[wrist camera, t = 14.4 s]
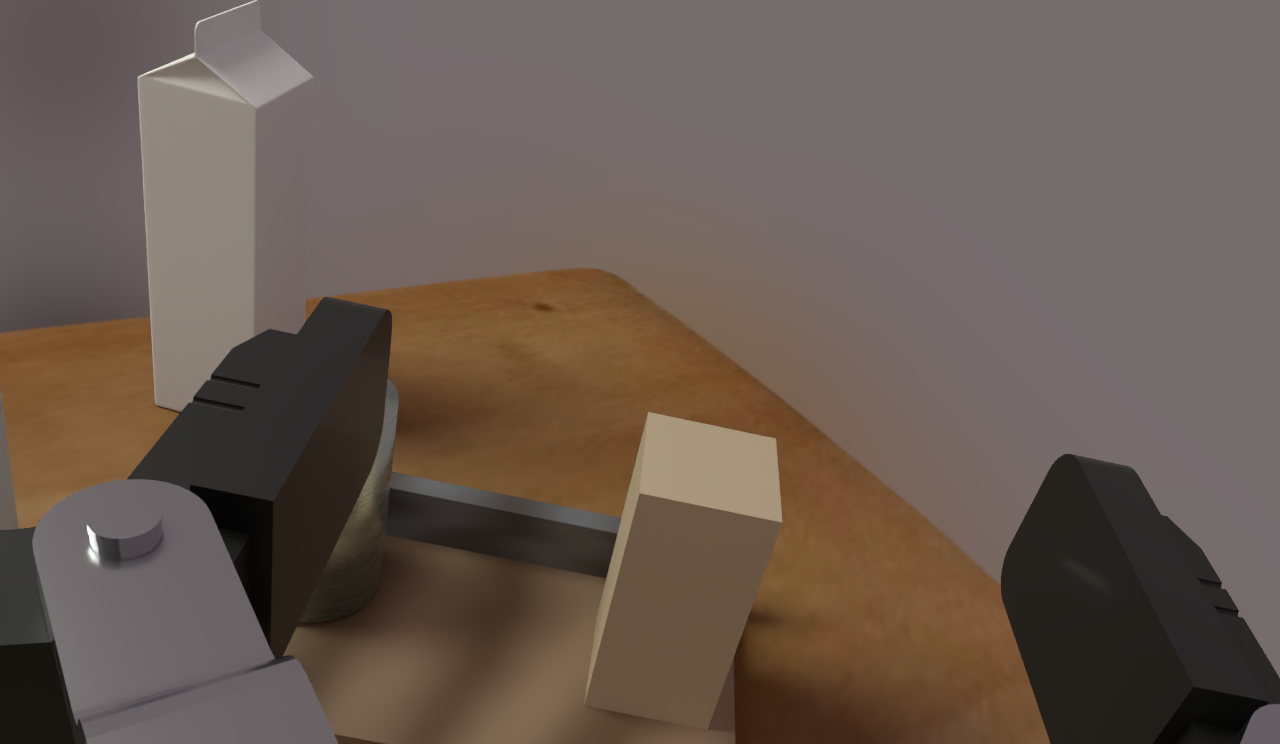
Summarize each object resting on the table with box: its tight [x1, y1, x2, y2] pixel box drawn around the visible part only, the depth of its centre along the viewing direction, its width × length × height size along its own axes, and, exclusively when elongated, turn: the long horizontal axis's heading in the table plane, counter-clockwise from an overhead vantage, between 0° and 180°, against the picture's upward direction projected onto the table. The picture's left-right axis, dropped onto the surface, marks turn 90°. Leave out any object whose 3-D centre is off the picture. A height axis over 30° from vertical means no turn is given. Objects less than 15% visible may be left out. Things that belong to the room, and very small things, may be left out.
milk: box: [138, 0, 313, 412], centre depth 54 cm, size 6×6×22 cm
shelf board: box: [283, 472, 736, 744], centre depth 46 cm, size 24×13×4 cm, turn 86°
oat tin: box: [299, 378, 399, 623], centre depth 45 cm, size 6×6×10 cm
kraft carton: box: [584, 412, 782, 730], centre depth 44 cm, size 6×6×12 cm
